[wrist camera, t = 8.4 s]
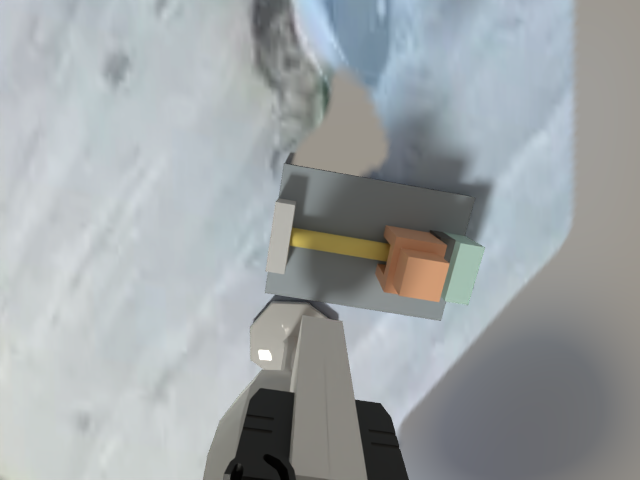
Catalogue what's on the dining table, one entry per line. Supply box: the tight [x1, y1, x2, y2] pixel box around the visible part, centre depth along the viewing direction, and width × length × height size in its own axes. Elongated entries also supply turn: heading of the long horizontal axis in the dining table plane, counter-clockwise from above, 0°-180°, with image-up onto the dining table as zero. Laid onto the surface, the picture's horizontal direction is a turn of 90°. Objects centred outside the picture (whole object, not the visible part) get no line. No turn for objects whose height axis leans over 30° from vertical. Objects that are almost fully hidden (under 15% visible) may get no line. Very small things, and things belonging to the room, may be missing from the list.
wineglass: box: [203, 301, 329, 480], centre depth 25 cm, size 9×9×21 cm
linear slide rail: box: [265, 163, 485, 321], centre depth 31 cm, size 12×17×5 cm
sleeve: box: [375, 225, 450, 302], centre depth 29 cm, size 5×4×7 cm
